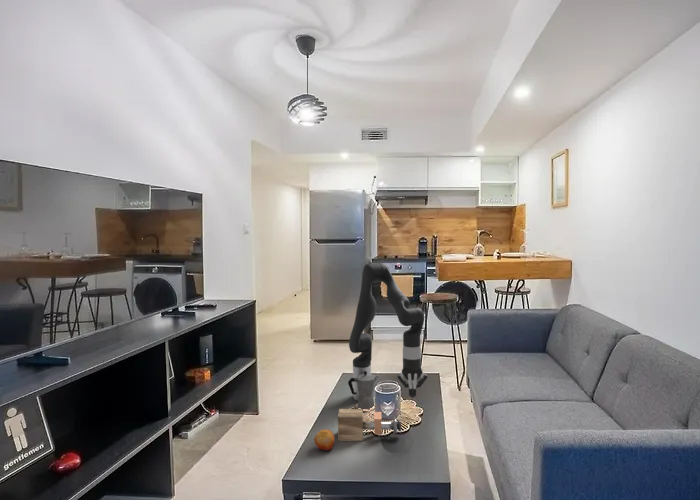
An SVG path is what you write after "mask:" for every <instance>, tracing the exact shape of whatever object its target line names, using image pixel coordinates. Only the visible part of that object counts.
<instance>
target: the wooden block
mask: <svg viewBox="0 0 700 500" xmlns="http://www.w3.org/2000/svg"><path fill="white" fill-rule="evenodd" d="M363 413H364V411H363V409H357V408H339V409H338V416H337V430H338V431H337V432H338V433H337V434H338V436H337V438H338V441H340V442H341V441H342V442H344V441H345V442H348V441H349V442H350V441H351V442H352V441H353V442H356V441H357V442H359V441H361V442H363V440H364V430H363V427H362V422H364V421H363V419H364V416H363Z"/></svg>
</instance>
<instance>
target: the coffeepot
mask: <svg viewBox="0 0 700 500" xmlns="http://www.w3.org/2000/svg"><path fill="white" fill-rule="evenodd" d="M377 379H379V376H378V375H374V374H371V375H370V374H367V371H364V374H362V375H359V376H357V377H354V378H353V377H351V378H350V379H349V380H348V382H347V384H348V386H349V388H350V393H351V395H354V394H356V393H357V392H354V389H353V382H357V386H358V391H359V397H358V401H357V406H356V408H357V407H358V408H361V409H370V408H372V407H373V406H374V403H375V399H374V393H373V392H374V388H375V383H376V382H377Z"/></svg>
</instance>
